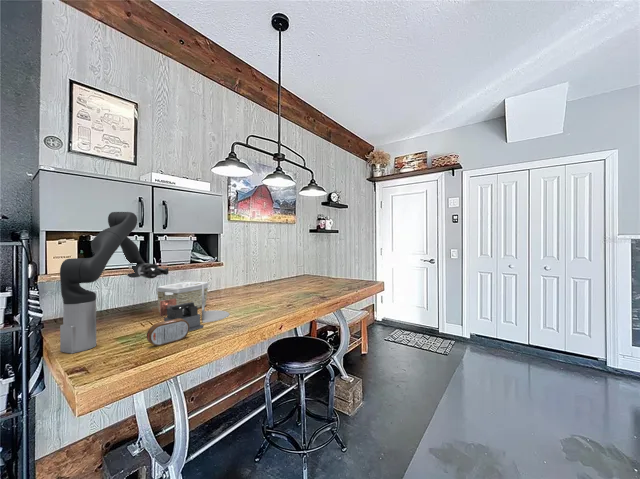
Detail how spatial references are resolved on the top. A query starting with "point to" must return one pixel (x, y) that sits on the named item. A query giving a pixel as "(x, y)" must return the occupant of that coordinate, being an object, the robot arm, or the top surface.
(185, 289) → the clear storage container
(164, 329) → the tin
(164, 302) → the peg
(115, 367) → the top surface
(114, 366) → the top surface
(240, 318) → the top surface
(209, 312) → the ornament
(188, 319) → the block
